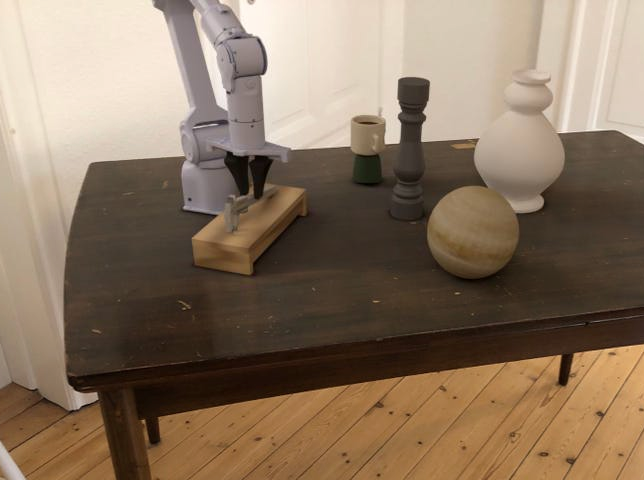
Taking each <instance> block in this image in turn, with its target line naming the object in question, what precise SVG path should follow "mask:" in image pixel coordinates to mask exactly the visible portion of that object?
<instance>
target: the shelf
mask: <svg viewBox="0 0 644 480" xmlns="http://www.w3.org/2000/svg"><path fill="white" fill-rule="evenodd" d="M270 185H273V186H276V187H277V188H278V190H277V191H276V194H274V195H272V196H270V197H268V198H265V199H263V200H261V201H259V202H257V203H255V204H253V205H251V206H249V207H248V212H245V213H244V214H243V213H240V215H239V222H238V229H237V231H233V233H228V232H226V227H225V210H224V211H223V212H222V213H220V214H219V215H216V217H215V218H213V219H212V220H211V221H210V222H208V223H207V225H205V226H204V227H203V228H202V229H201V230H199V231H198V232H197V233H196V234H195V235H194V236H193V237H191V244H192V252H193V261H194V266H196V267H201V268H208V269H213V270H219V271H224V272H230V273H235V274H241V275H247V276H251V275H252V274H254V262H255V261H257V259H258V258H259V257H260V256H261V255H262V254H263V253H264V252H265V251H266V250H267V249H268V248H269V246H270V245H272V244H273V242H274V241H275V240H276V239H277V238H278V237H279V236H280V235H281V234H282V233H283V232H284V230H285V229H287V227H288V226H289V225H290V224H291V223H292V222H293V221H294V220H295V219H296V218H297V217H298V216H301V217H305V216H306V215H308V209H307V208H308V207H307V206H308V205H307V203H308V202H307V189H306V188H300V187H293V186H288V185H280V184H274V183H267V182H265V185H264V188H266V187H268V186H270ZM253 193H254V190H253V185H251V186H249V194H248V195H250V194H253ZM248 195H246V196H248ZM239 197H241V196H240V195H239Z"/></svg>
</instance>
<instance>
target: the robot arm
mask: <svg viewBox="0 0 644 480" xmlns="http://www.w3.org/2000/svg"><path fill="white" fill-rule="evenodd" d="M151 3H152V7H153V8H155V9H157V10H158V11H161V12H162V14H163V16H164V20H165V24H166V26H167V30H168V33H169V37H170V41H171V45H172V48H173V51H174V56H175V59H176V62H177V63H176V64H177V66H178V70H179V73H180V77H181V81H182V84H183V88H184V92H185V95H186V99H187V103H188V106H189V111H188V112H187V113H186V114H185V115H184V117H183V118H182V119H181V120H180V123H179V126H178V129H179V133H180V142H181V150H182V152H183V156H184V157H185V158H186V160H184V163H183V164H182V168H181V174H180V175H181V185H182V193H183V194H182V195H183V201H184V206H183V207H182V209H183V210H184V211H189V212H195V213H201V214H208V215H214V216H218V215H219V214H220V213H222V212H223V211H224V210H225V204H226V201H227V196H230V195H236V198H238V195H237V190H238V193H239V197H240V196H246V195H248V194H249V188H250V179H249V170H250V174H251V178H252V186H253V190H254V198H255V199H257V200H259V199H260V198H261V197H262V196H263V191H264V185H265V183H266V180H267V177H268V174H269V171H270V169H271V166H272V164H273V163H274V162H273V161H281V163H284V164H287V163H289V162H290V161H291V160H292V148H291V147H289V146H288V147H287V146H283V145H279V144H276V143H272V142H269V141H267V140H266V129H265V128H266V127H265V114H264V113H265V112H264V96H263V80H262V79H263V78H262V76H265V75H266V73H267V71H268V67H269V61H268V53H267V50H266V47H265V45H264V43H263V41H262V38H261V37H260V36H258V35H254V34H253V33H248V32H247V31H246V29H245V28H244V26H243V24H242V22H241V21H240V20H239V18H238V17H237V15H236V14H235V12H234V10H233V9H232V8H231V6H229V5H228V4H226V3H221V2H220V0H151ZM195 10H196V11H197V12H198V13H199V14H200V16H201V17H200V21H199V23H200V28H201V30H202V32H203V33H204V35H205V36H206V38H207V40H208V42H209V43H210V44H211V46H212V48H213V50H214V51H215V53H216V55H215V57H216V63H217V68H218V71H219V74H220V78H221V85H222V88H223V89H224V90H225V96H226V97H225V98H226V108H227V109H225V108H223V107H221V105H218V103H217V99H216V95H215V91H214V88H213V84H212V79H211V77H210V73H209V69H208V66H207V62H206V58H205V57H206V56H205V54H204V50H203V45H202V43H201V38H200V35H199V32H198V27H197V24H196V23H197V22H196V20H195V16H194V12H195ZM250 157H254V158H253V159H251V160H250ZM249 160H250V161H249Z"/></svg>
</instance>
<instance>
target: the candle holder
mask: <svg viewBox="0 0 644 480" xmlns="http://www.w3.org/2000/svg"><path fill="white" fill-rule="evenodd" d="M430 89H431V81H430V80H429V79H427V78H424V77H417V76H405V77H400V78H399V79H398V80H397V93H396V94H397V96H396V99H397V101H398V105H399V107H400V110H401V111H400V112H399V113H398V114H397V120H398V121H399V122H400V138H399V142H398V146H397V149H396V153H395V157H394V160H393V164H392V170H393V173H394V175H395V177H396V181H397V183H396V184H395V186H394V187H393V189H392V193H393V194H391V198H390V215H391V216H392V217H393V218H395V219H398V220H403V221H414V220H418V219H421V218H422V217H423V211H424V210H423V209H424V196H423V192H424V190H423V187H421V185H420V184H419V183H420V182H421V179H422V177H423V176H424V174H425V172H426V160H425V155H424V148H423V142H422V136H423V135H422V133H423V125H424V123H425V122H426V120H427V115H426V114H425V113H424V112H425V109H426V108H427V106H428V102H429V101H430V91H431V90H430Z"/></svg>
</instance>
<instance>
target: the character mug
mask: <svg viewBox="0 0 644 480" xmlns="http://www.w3.org/2000/svg"><path fill="white" fill-rule="evenodd" d="M386 123H387V121H386V119H385V118H384V117H382V116H379V115H374V114H360V115H355V116H352V118H350V150H351V152H353V153H354V154H355V157H354V161H353V162H354V163H353V170H352V180H353V181H354V182H356V183H361V184H369V185H370V184H379V183H380V182H382V181H383V175H382V174H383V173H382V163H381V162H382V161H381V156H380V154H381V153H382V152H384V151H385V149H386V140H385V138H386V137H385V135H386V132H387V129H386V128H387V124H386Z"/></svg>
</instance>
